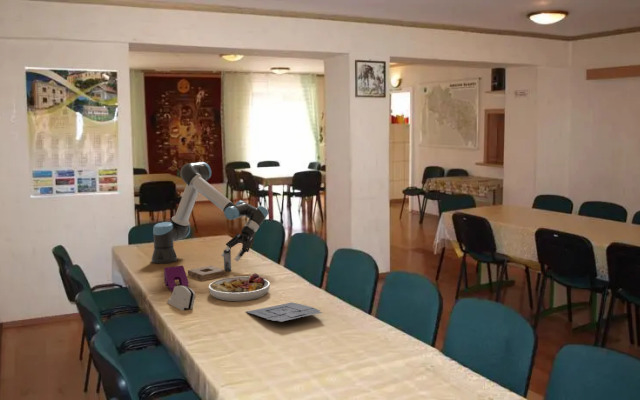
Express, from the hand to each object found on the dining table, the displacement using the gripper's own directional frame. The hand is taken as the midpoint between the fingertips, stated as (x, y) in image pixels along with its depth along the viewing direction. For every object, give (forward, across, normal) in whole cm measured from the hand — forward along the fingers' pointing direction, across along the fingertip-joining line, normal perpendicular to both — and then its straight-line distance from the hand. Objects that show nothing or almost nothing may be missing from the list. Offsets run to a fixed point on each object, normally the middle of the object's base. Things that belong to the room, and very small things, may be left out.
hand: (229, 258), depth 334 cm
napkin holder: (+42, -39, +32) cm, 65 cm away
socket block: (+16, 0, +6) cm, 17 cm away
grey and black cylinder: (+6, +1, -4) cm, 7 cm away
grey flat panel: (+25, -84, +14) cm, 89 cm away
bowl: (+21, -42, +10) cm, 48 cm away
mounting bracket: (+33, -11, +23) cm, 42 cm away
